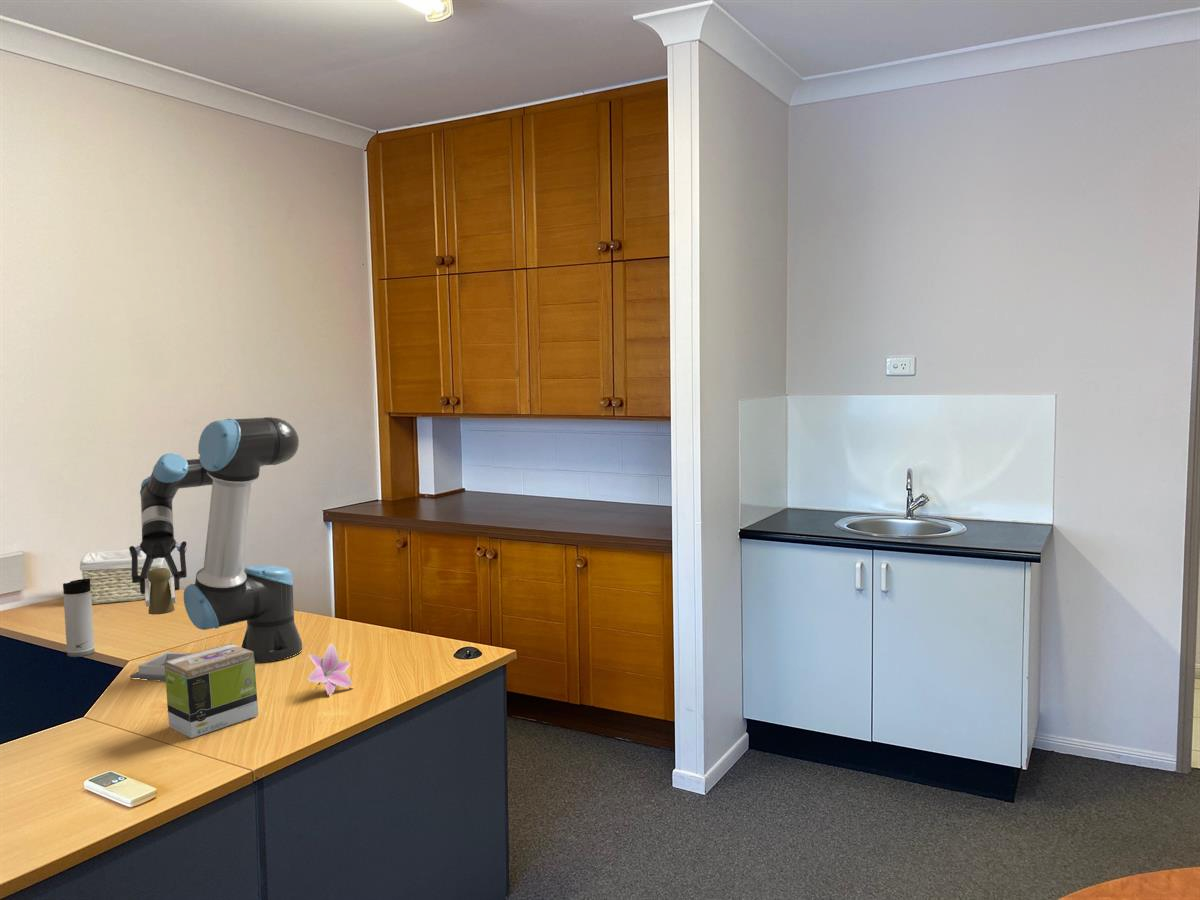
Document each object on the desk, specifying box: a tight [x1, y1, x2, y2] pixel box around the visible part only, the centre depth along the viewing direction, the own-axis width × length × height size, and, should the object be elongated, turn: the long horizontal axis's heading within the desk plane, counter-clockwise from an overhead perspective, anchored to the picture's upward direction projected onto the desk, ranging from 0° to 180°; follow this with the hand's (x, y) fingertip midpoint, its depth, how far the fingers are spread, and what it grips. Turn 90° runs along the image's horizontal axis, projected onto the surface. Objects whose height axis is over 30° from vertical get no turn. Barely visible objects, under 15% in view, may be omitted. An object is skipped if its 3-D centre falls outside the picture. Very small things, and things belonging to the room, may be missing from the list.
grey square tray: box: [130, 651, 193, 682], centre depth 220 cm, size 13×13×3 cm
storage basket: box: [79, 549, 165, 605], centre depth 291 cm, size 24×16×15 cm
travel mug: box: [62, 578, 96, 658], centre depth 233 cm, size 6×7×20 cm
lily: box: [307, 642, 354, 695], centre depth 207 cm, size 12×12×10 cm
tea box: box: [165, 642, 259, 739], centre depth 188 cm, size 15×10×15 cm, turn 141°
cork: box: [148, 567, 175, 616], centre depth 225 cm, size 6×6×11 cm
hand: (160, 601), depth 221 cm, fingers closed on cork, 5 cm apart
